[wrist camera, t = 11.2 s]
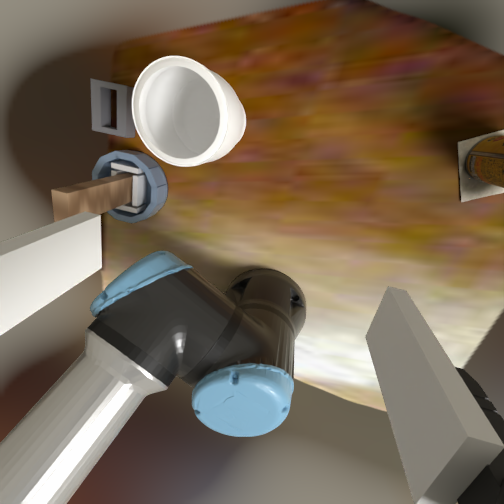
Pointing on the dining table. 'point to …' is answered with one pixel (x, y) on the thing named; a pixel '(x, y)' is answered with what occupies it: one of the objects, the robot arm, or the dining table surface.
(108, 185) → the brown long rectangular bar
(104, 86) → the grey slotted block
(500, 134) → the condiment
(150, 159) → the candle dish
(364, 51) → the dining table surface
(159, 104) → the jar
